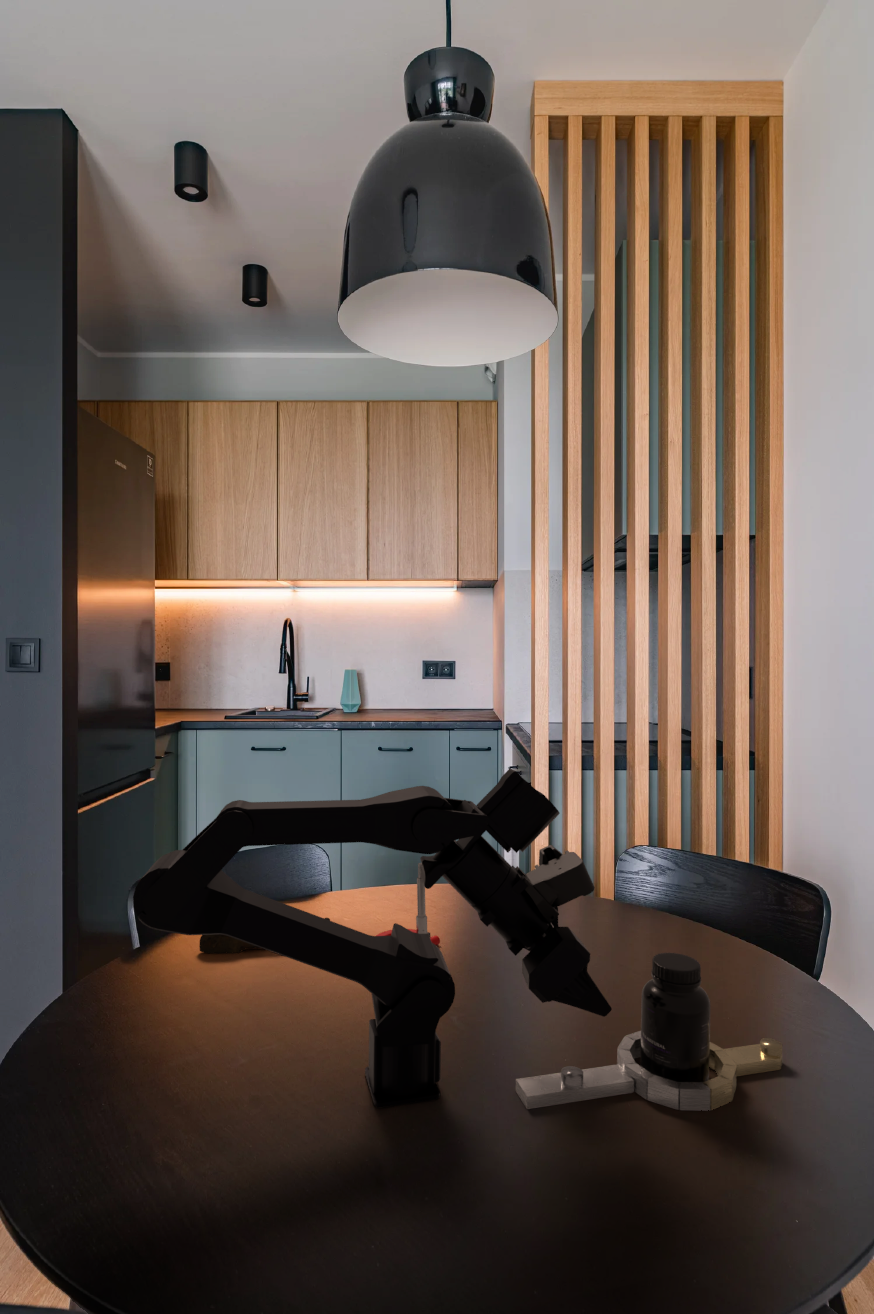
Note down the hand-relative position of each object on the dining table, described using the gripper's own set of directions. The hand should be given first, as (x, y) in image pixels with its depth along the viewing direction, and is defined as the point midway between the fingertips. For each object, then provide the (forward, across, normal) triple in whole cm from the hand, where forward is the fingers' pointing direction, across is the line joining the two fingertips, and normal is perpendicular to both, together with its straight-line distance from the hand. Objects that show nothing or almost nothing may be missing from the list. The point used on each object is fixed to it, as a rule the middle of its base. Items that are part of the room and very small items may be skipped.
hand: (594, 991), depth 74 cm
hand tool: (-21, +35, +34) cm, 53 cm away
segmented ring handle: (+7, -2, +6) cm, 9 cm away
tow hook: (-7, +36, +20) cm, 42 cm away
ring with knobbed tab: (+17, +1, -4) cm, 17 cm away
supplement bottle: (+12, 0, 0) cm, 12 cm away
